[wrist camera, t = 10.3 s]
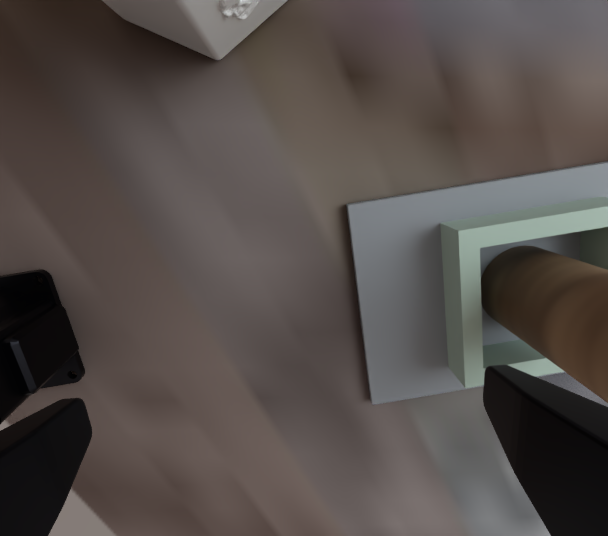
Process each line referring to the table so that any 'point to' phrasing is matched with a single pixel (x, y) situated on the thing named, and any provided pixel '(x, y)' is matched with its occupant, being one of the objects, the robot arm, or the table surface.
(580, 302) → the pepper mill
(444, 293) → the well board
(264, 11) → the jar
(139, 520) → the table surface
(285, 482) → the table surface
